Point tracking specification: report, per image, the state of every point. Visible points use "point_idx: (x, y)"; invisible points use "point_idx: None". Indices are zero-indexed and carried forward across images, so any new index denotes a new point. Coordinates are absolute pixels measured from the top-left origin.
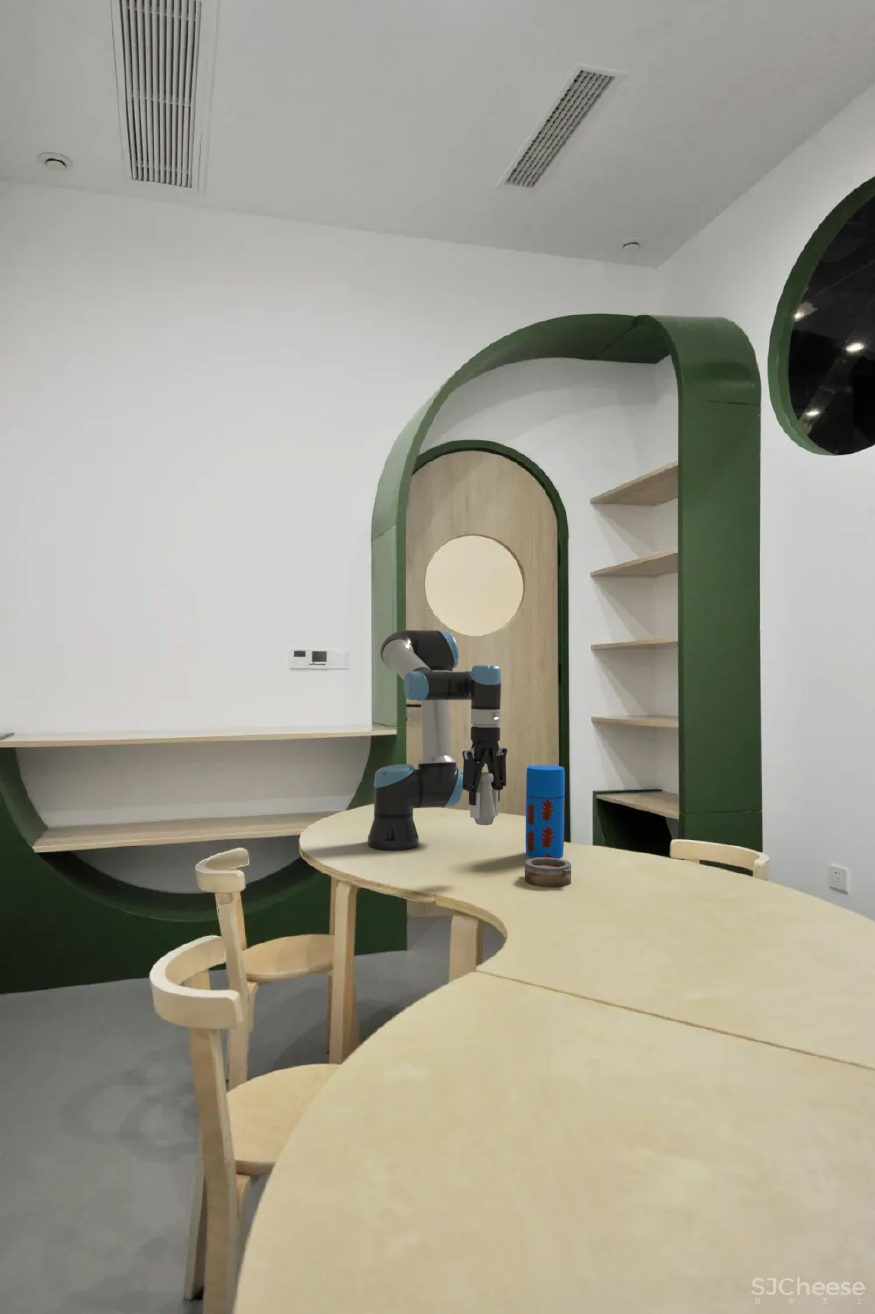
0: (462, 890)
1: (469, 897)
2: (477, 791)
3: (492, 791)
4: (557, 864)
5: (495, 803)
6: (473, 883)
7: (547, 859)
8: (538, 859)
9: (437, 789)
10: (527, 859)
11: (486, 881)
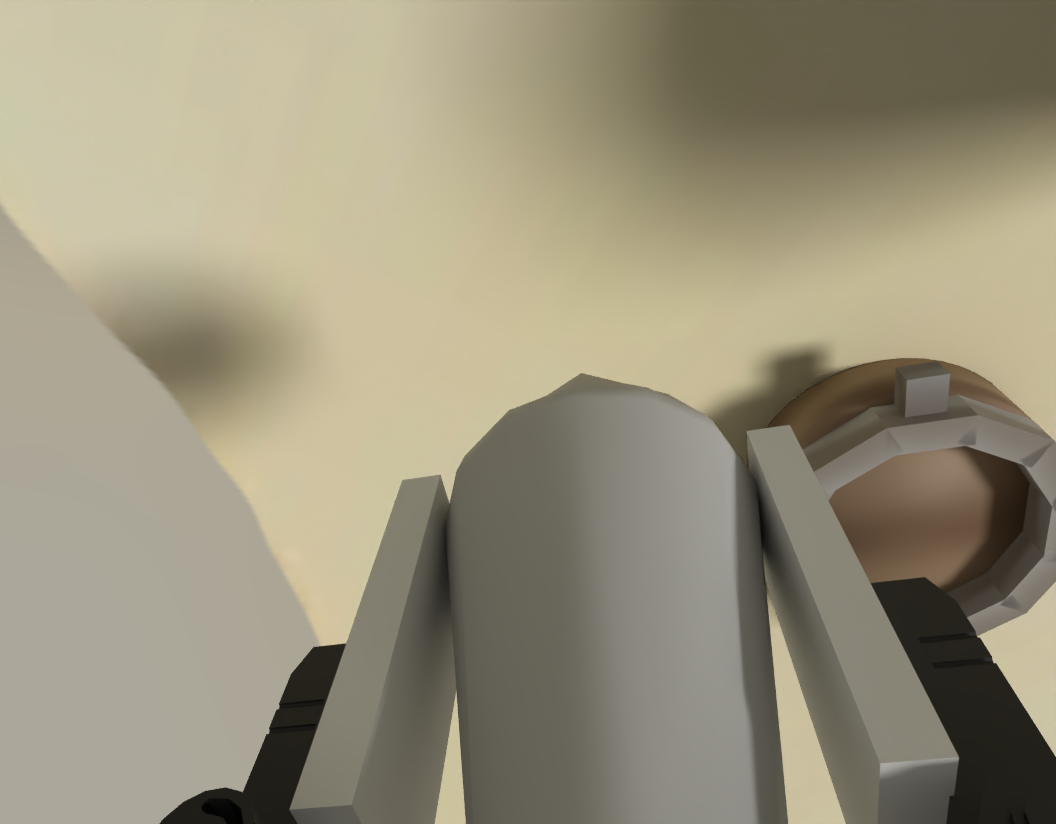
0: (336, 429)
1: (324, 531)
2: (474, 801)
3: (862, 799)
4: (1033, 494)
5: (796, 668)
6: (456, 345)
7: (1021, 461)
8: (962, 442)
9: None
10: (920, 381)
11: (551, 343)
